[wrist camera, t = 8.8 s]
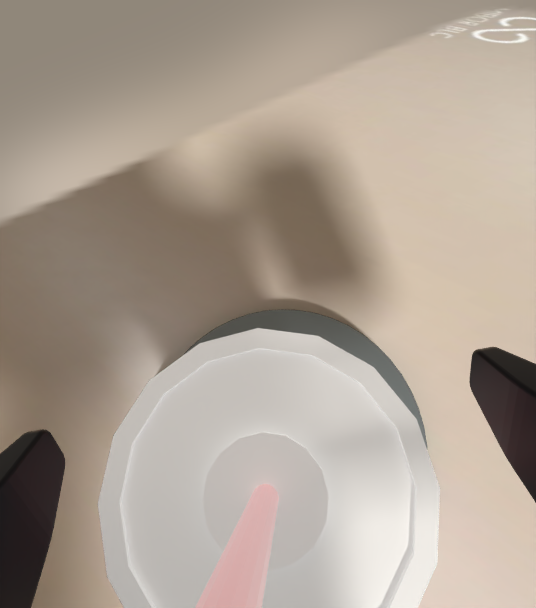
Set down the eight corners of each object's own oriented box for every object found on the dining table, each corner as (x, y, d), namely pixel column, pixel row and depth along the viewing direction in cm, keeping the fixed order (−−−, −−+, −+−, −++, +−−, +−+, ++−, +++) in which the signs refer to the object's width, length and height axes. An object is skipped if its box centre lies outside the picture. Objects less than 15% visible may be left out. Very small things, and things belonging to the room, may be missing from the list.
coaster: (342, 666, 15) (344, 680, 14) (99, 496, 17) (89, 500, 16) (465, 393, 17) (474, 392, 16) (238, 272, 19) (235, 265, 18)
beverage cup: (202, 543, 15) (-462, 1501, 2) (201, 377, 17) (-160, 227, 3) (368, 536, 15) (1037, 1596, 2) (350, 368, 17) (603, 168, 3)
